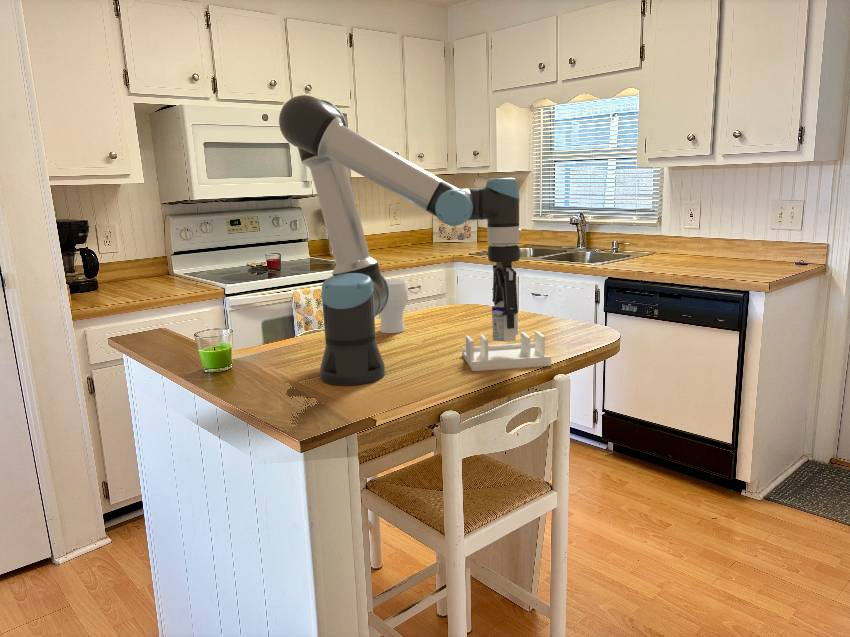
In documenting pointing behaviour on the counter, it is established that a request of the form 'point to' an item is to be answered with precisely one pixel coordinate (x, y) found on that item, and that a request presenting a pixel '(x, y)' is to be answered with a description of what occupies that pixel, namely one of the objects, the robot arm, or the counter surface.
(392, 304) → the cup
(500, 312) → the box
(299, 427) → the counter surface
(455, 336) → the counter surface
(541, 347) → the rack
